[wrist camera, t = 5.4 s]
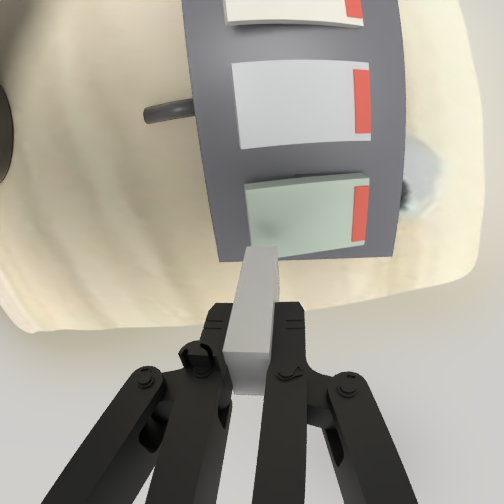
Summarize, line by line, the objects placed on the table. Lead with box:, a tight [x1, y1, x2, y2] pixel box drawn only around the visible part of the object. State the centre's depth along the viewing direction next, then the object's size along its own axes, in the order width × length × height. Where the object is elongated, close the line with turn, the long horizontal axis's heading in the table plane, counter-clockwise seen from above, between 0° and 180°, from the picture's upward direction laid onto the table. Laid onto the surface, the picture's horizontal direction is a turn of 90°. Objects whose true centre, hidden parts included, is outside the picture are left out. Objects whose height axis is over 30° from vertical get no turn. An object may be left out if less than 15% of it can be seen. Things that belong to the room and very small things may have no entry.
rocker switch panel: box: [143, 0, 406, 262], centre depth 18 cm, size 19×24×5 cm
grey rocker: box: [230, 60, 371, 149], centre depth 15 cm, size 8×5×1 cm, turn 96°
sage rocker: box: [244, 173, 370, 258], centre depth 19 cm, size 8×5×1 cm, turn 96°
